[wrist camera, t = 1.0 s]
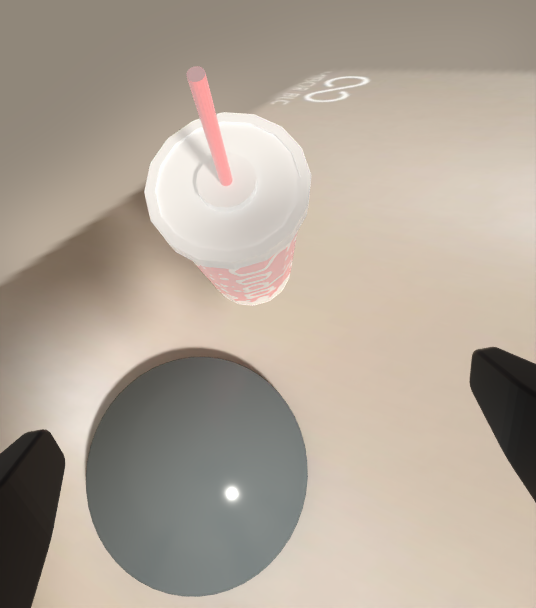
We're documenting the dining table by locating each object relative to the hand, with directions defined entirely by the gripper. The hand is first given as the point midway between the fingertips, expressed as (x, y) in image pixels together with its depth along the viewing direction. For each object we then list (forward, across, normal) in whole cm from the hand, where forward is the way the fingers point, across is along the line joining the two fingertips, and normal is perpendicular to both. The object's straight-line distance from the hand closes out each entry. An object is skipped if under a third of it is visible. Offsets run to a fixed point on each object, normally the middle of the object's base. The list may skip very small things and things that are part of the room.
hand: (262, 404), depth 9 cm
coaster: (+8, +5, +11) cm, 14 cm away
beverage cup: (+15, 0, +4) cm, 16 cm away
